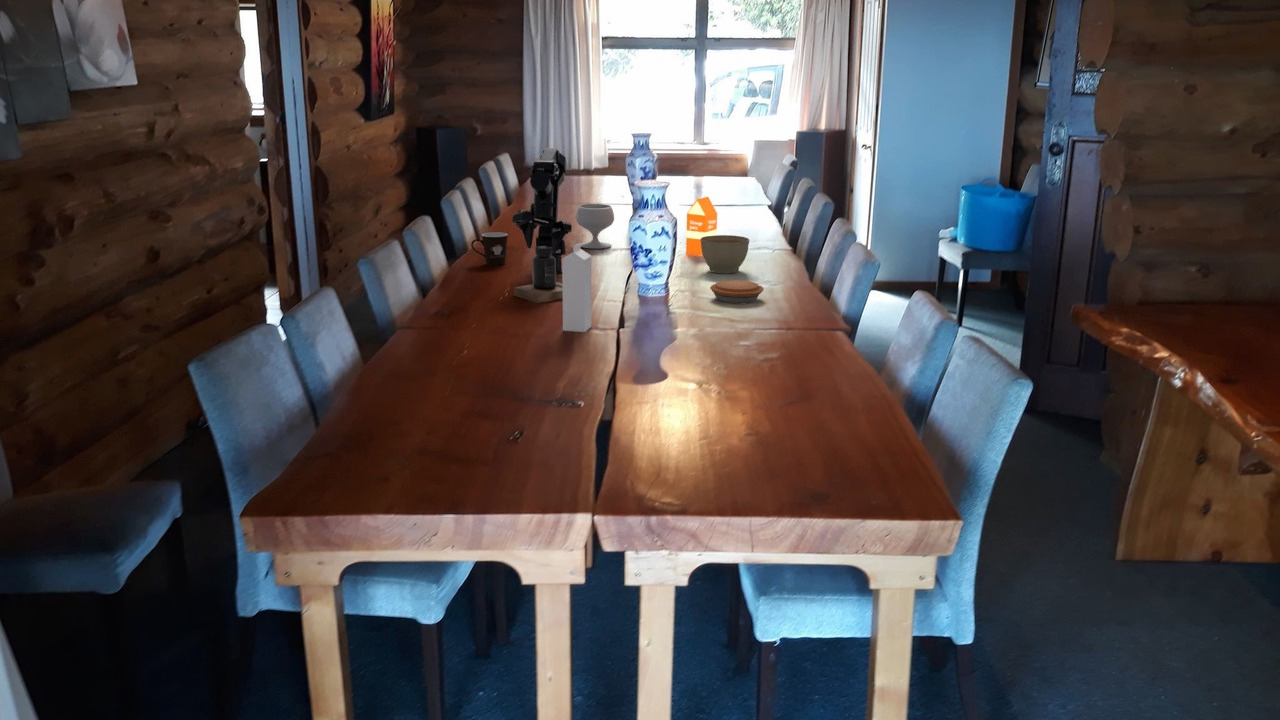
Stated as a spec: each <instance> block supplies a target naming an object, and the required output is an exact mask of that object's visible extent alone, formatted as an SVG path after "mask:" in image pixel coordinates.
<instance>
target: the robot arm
mask: <svg viewBox="0 0 1280 720" xmlns="http://www.w3.org/2000/svg"><path fill="white" fill-rule="evenodd" d="M567 166H568V165H567V159H566V156H564V155H563V153H561V152H560V149H559V148H557V147H553V148H552V147H545V148H543V149H542V154H541V156H540V157H539V158H537V159H535V160H533V163H531V168H530V172H529V179H530V180H529V182H530V186H531V188H532V191H533V194H534V195H533V202H532V203H531V204H530V208H529V210H524V209H519V210H518V211H517V213H514V214H513V216H512V224H515V226H516V228H519V229H520V230H521V231H522V234H523V237H524V240H525V244H526V247H527V249H531V248H532V246H533V245H532V244H533V239H534V233H535V232H534V231H535V230H536V229H537V228H538V233H537V234H538V235H536V237H535V246H536V247H538V246H550V247H552V254H551V255H552V256H554V257H555V260H556V275H558V274H562V256H564V255H566V242H565V240H564V238H565V236H566V235H568V234H569V233H572V231H573V229H572V228H573V227H572V226H573V225H572V224H571V223H570V222H568V221H564V220H559V221H558V213H559V212H558V211H559V194H560V192H559V191H560V186H561V185H562V184H563V182H564V181H565V176H566V174H567V172H568V167H567ZM538 226H539V227H538ZM536 247H535V248H536Z"/></svg>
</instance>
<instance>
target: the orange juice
mask: <svg viewBox="0 0 1280 720" xmlns="http://www.w3.org/2000/svg"><path fill="white" fill-rule="evenodd" d="M717 226H718V212H717V211H716V208H715V207H714V204H713V203H712V201H711V199H710V198H709V196H704V197H701V198H696V200H695V201H694V202H693V204H692V205H691V207H690V208H689V210H688V212H686V230H685V231H686V232H685V233H686V236H685V238H686V239H685V240H686V241H685V242H686V243H685V255H689V254H694V255H693V256H696V255H702V256H701V257H703V254H702V250H701V241H700V239H701V238H702V237H705V236H714V235H717V233H718V231H717V230H718V227H717Z"/></svg>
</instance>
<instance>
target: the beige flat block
mask: <svg viewBox="0 0 1280 720" xmlns="http://www.w3.org/2000/svg"><path fill="white" fill-rule="evenodd" d="M513 296H514V297H517V298H520V299H523V300H527V301H529V302H532V303H535V304H541V303H546V302H547V303H548V302H551V301H553V302H554V301H559V300H558V299H560V300H563V283H561V282H559V281H556V287H555V288H553V289H548V290H540V289H535V288H534V287H533V283H532V284H527V285H519V286H514V287H513Z"/></svg>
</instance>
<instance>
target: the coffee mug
mask: <svg viewBox="0 0 1280 720" xmlns="http://www.w3.org/2000/svg"><path fill="white" fill-rule="evenodd" d="M481 237H482V238H481V239H482V240H481V239H480V238H476V239H475V238H474V239H473V240H472V241H471V244H470V245H471V248H472V250H473V251H474V252H476V253H477V254H478V255H481V256H482V257H484V260H485V265H486V264H487V266H489V265H492V266H491V267H500V266H504V265H506V260H507V259H506V257H507V249H508V248H507V247H508V246H507V245H508V237H509V235H508V233H505V232H484V233H482V234H481ZM477 241H478V242H480V243H481V245H482V247H483V251H484V253H481V252H480V251H478V250H477V249H476V248H474V243H475V242H477Z"/></svg>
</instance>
